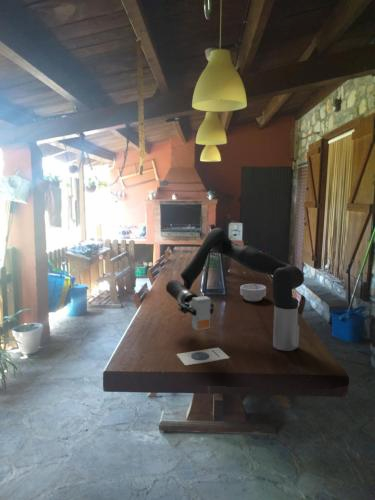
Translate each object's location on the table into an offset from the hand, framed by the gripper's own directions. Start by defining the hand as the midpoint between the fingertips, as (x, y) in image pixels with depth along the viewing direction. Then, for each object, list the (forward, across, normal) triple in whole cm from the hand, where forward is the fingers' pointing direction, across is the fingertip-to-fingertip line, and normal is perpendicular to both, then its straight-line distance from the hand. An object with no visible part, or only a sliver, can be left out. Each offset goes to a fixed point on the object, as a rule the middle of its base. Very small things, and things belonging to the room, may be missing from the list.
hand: (203, 312), depth 138 cm
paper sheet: (0, 0, +18) cm, 18 cm away
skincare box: (-2, 0, +7) cm, 8 cm away
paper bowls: (-63, +57, +18) cm, 87 cm away
